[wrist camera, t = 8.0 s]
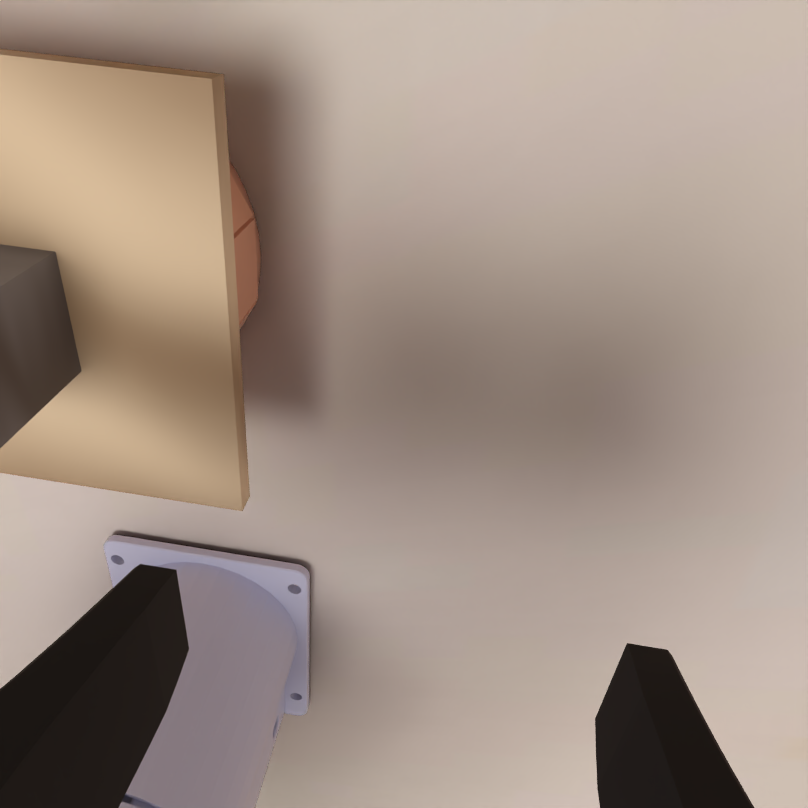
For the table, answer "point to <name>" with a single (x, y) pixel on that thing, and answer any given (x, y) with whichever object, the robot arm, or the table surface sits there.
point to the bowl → (244, 247)
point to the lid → (119, 280)
